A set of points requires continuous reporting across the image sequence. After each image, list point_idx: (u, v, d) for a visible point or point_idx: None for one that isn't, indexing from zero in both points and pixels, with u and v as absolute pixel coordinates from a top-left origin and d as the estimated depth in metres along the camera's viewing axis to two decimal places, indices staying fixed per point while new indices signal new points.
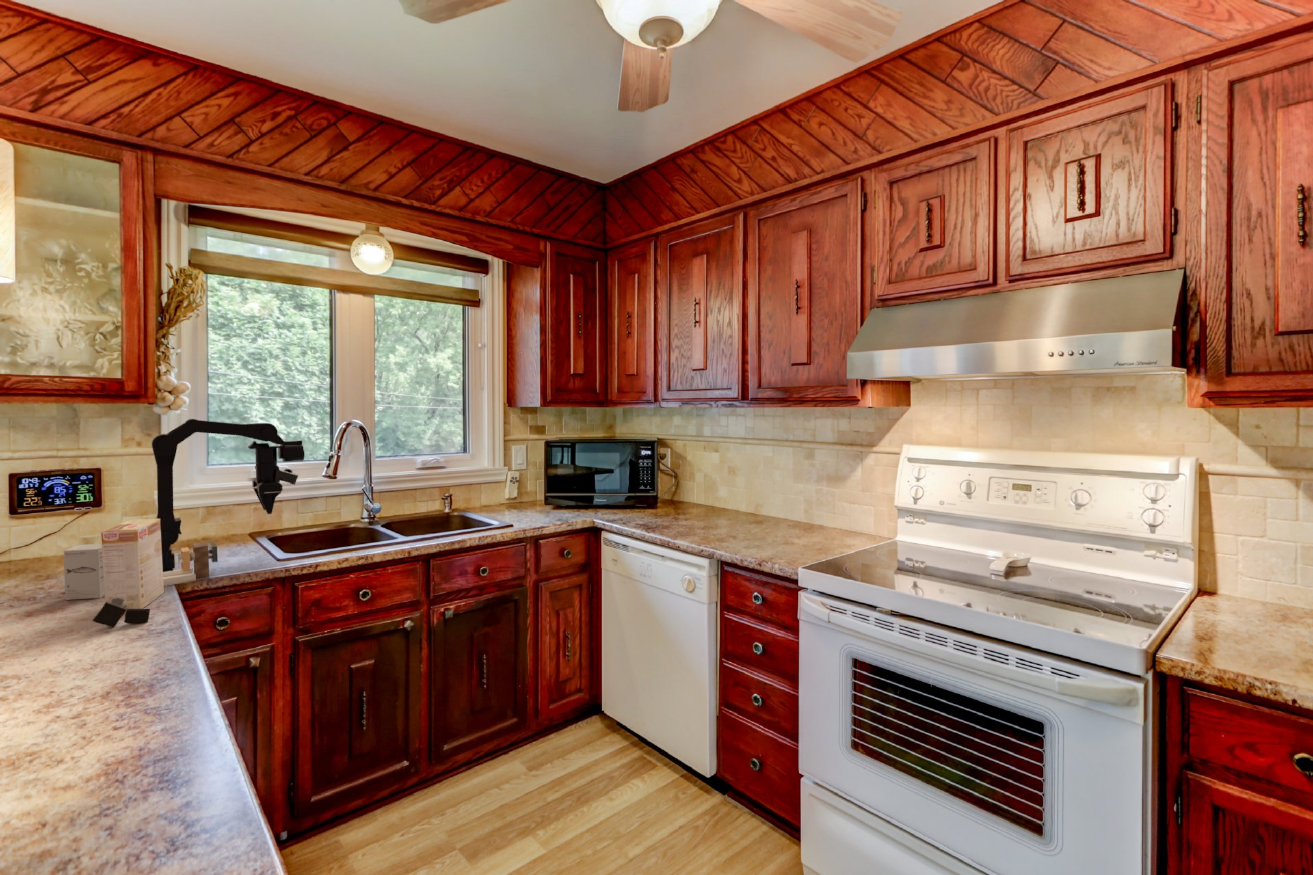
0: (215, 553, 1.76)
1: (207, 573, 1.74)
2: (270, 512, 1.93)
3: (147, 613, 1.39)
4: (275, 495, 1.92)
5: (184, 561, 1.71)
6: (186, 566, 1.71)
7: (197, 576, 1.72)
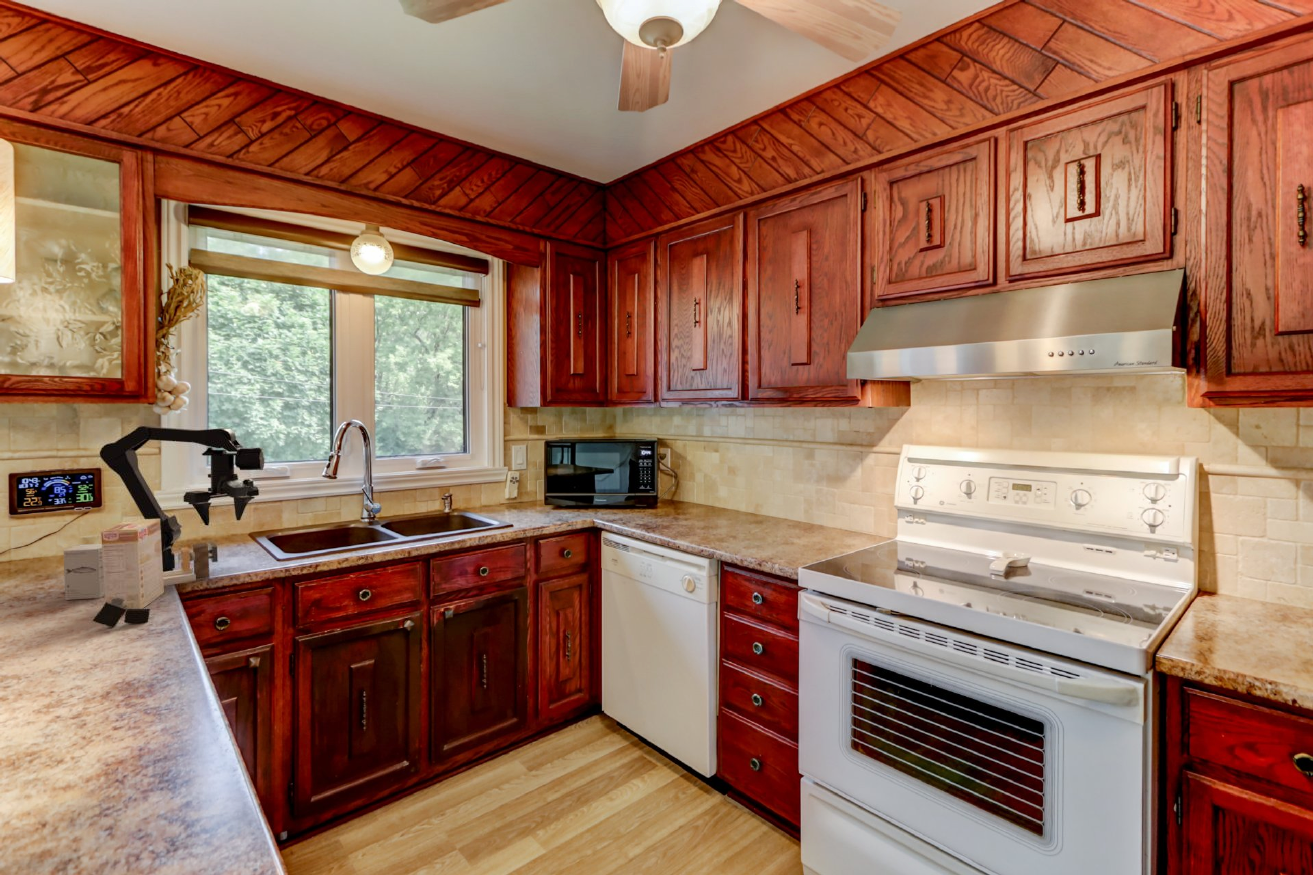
0: (215, 553, 1.76)
1: (207, 573, 1.74)
2: (206, 524, 1.81)
3: (147, 613, 1.39)
4: (202, 506, 1.78)
5: (184, 561, 1.71)
6: (186, 566, 1.71)
7: (197, 576, 1.72)
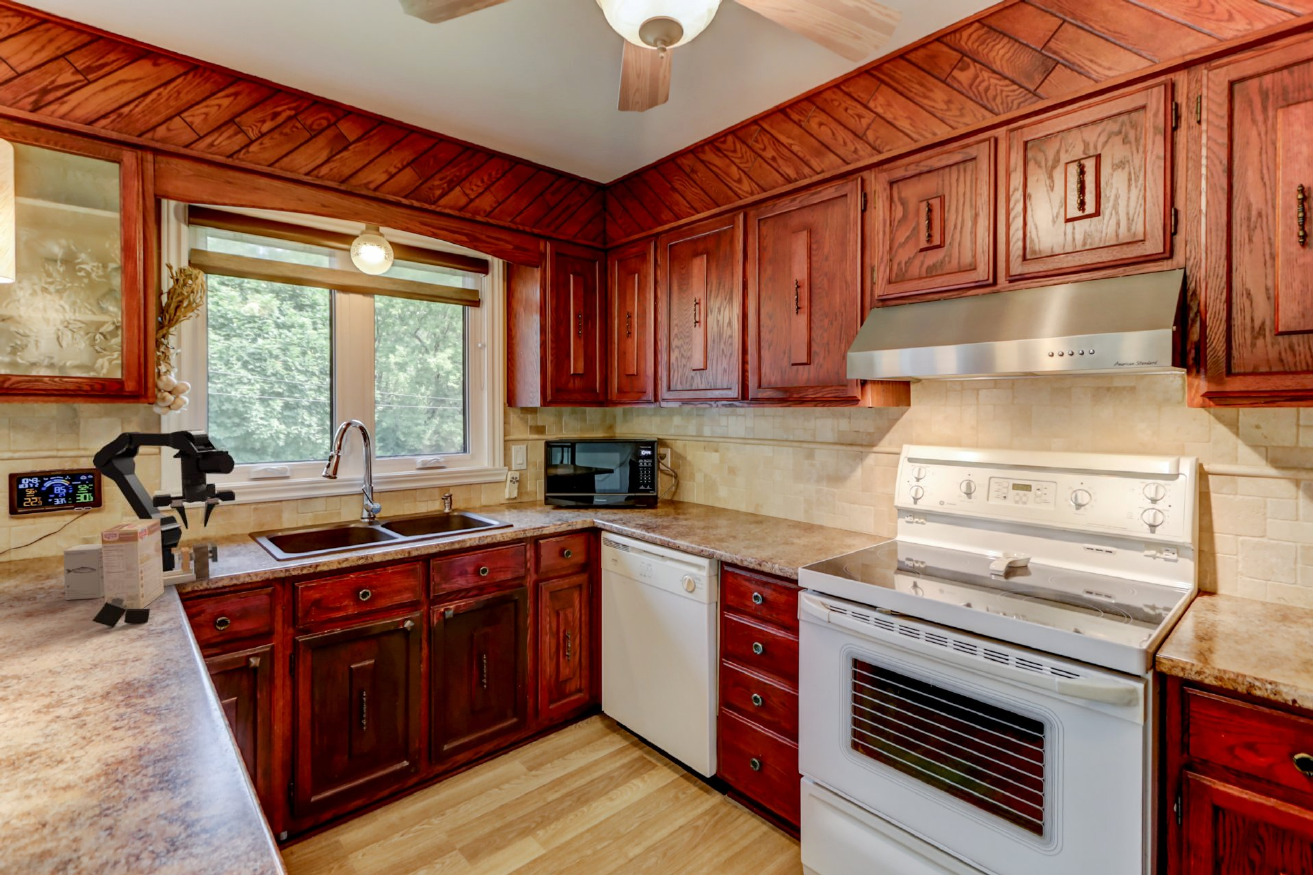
0: (215, 553, 1.76)
1: (207, 573, 1.74)
2: None
3: (147, 613, 1.39)
4: None
5: (184, 561, 1.71)
6: (186, 566, 1.71)
7: (197, 576, 1.72)
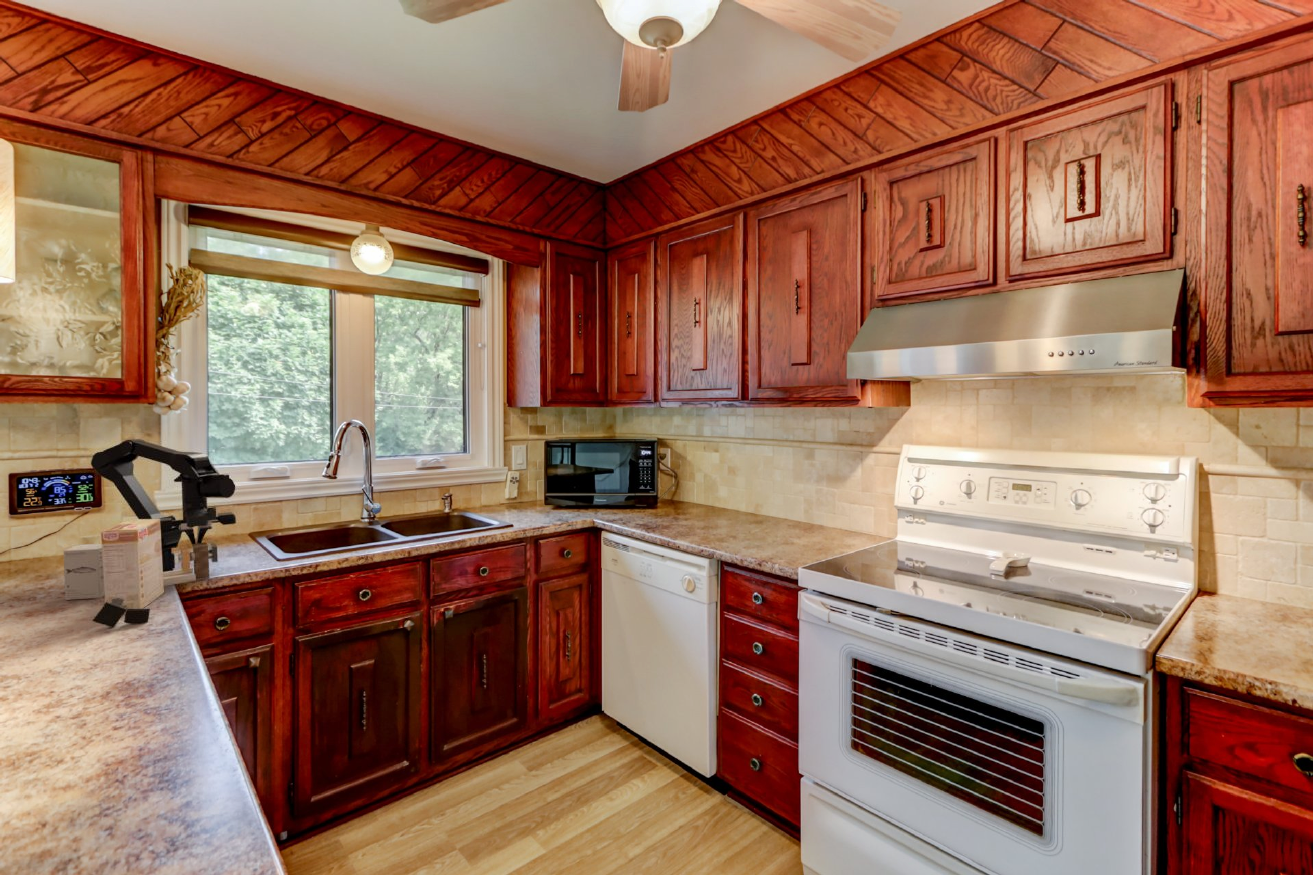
0: (215, 553, 1.76)
1: (207, 573, 1.74)
2: None
3: (147, 613, 1.39)
4: None
5: (184, 561, 1.71)
6: (186, 566, 1.71)
7: (197, 576, 1.72)
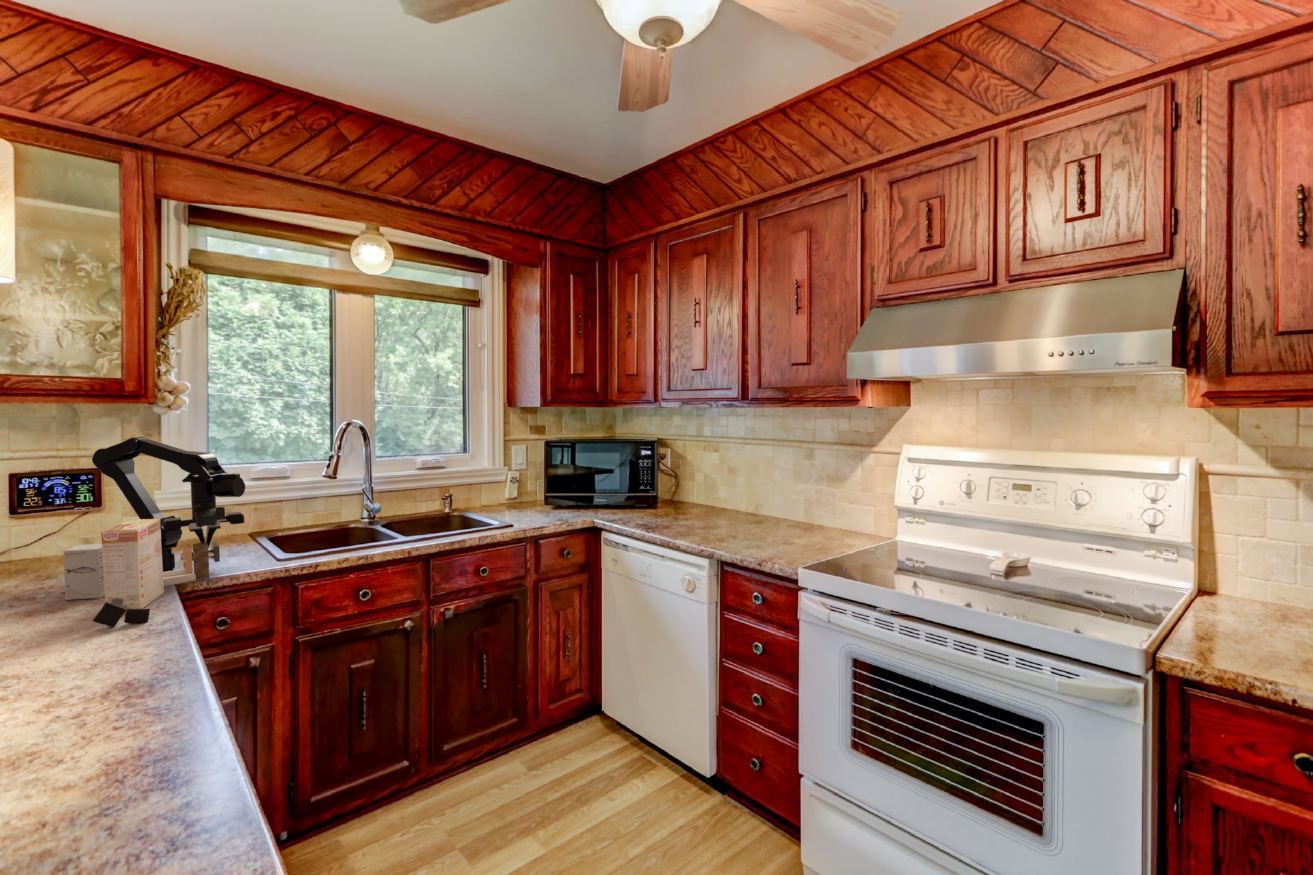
0: (217, 553, 1.77)
1: (207, 573, 1.74)
2: None
3: (147, 613, 1.39)
4: None
5: (186, 561, 1.71)
6: (188, 566, 1.71)
7: (197, 576, 1.72)
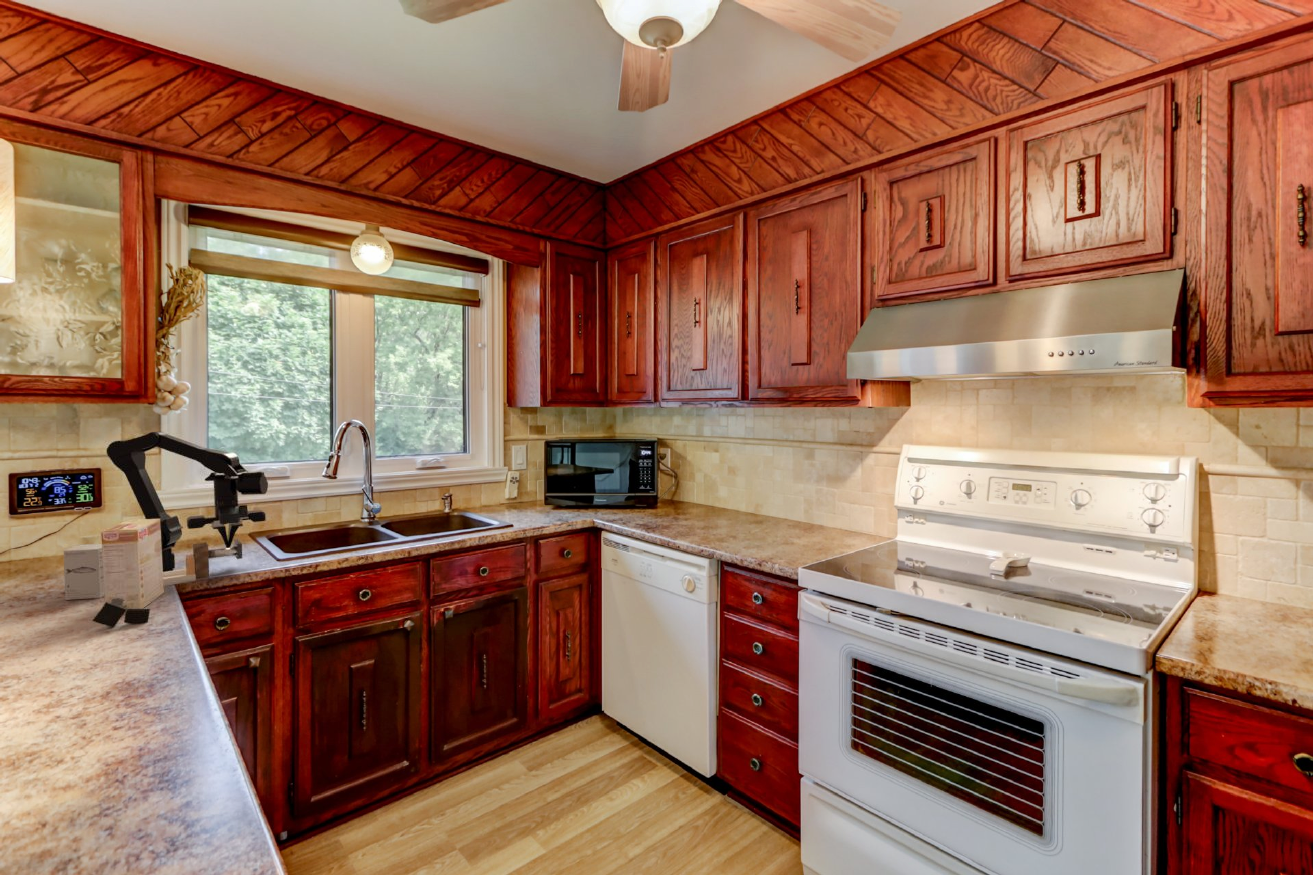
0: (240, 550, 1.80)
1: (207, 573, 1.74)
2: (226, 546, 1.83)
3: (147, 613, 1.39)
4: None
5: (189, 568, 1.71)
6: (191, 573, 1.72)
7: (197, 576, 1.72)
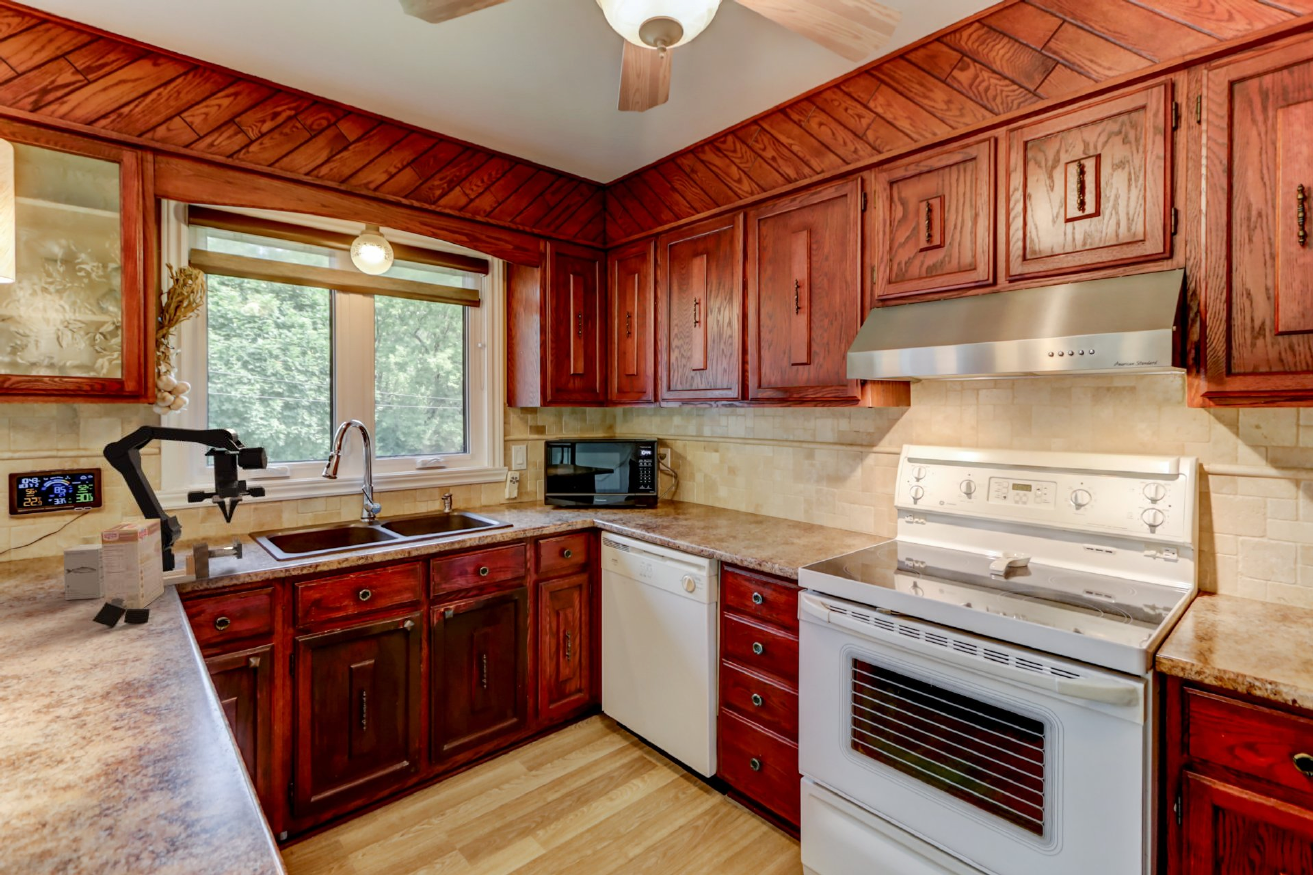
0: (240, 550, 1.80)
1: (207, 573, 1.74)
2: (226, 521, 1.85)
3: (147, 613, 1.39)
4: None
5: (189, 568, 1.71)
6: (191, 573, 1.72)
7: (197, 576, 1.72)
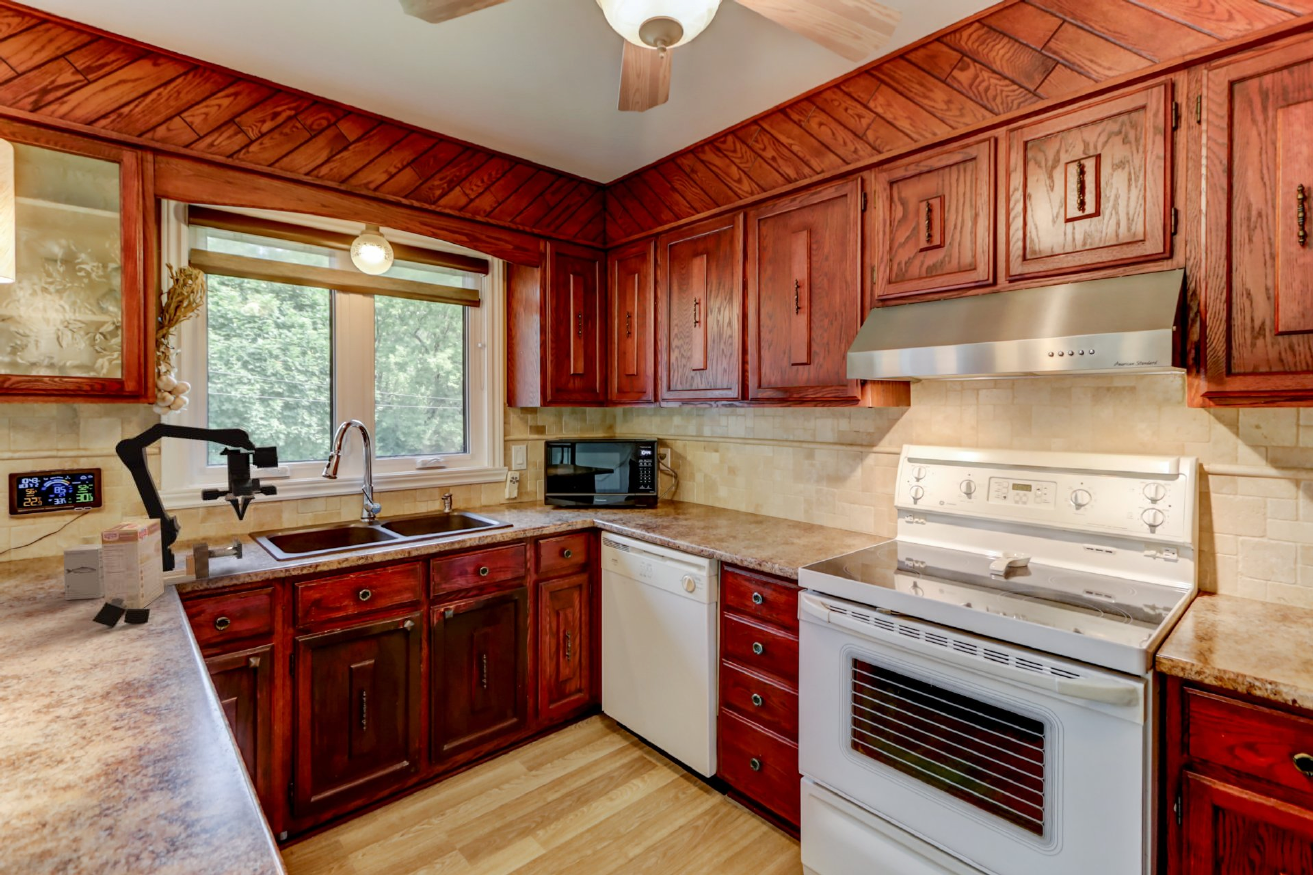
0: (240, 550, 1.80)
1: (207, 573, 1.74)
2: None
3: (147, 613, 1.39)
4: None
5: (189, 568, 1.71)
6: (191, 573, 1.72)
7: (197, 576, 1.72)
